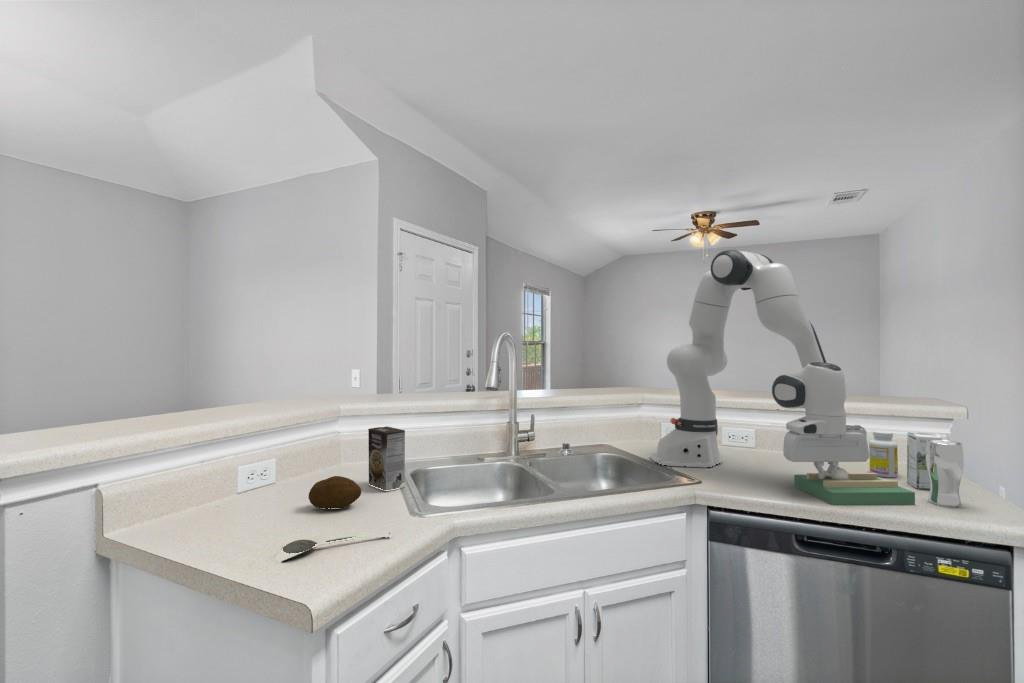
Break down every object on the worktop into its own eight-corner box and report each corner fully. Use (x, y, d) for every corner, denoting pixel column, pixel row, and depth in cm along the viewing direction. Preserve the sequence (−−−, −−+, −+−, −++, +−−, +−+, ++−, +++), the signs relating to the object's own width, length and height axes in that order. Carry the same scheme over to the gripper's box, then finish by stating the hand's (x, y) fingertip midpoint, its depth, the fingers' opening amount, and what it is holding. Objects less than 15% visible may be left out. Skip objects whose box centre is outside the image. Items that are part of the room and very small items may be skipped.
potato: (311, 504, 120) (311, 473, 121) (363, 500, 123) (363, 470, 123) (304, 515, 113) (304, 482, 113) (360, 511, 115) (360, 479, 115)
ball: (836, 485, 124) (836, 469, 124) (826, 480, 128) (826, 465, 128) (852, 485, 124) (852, 469, 124) (841, 480, 128) (841, 465, 128)
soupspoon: (273, 556, 94) (272, 573, 88) (272, 539, 93) (271, 555, 87) (388, 532, 103) (394, 546, 97) (388, 517, 103) (394, 529, 97)
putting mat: (832, 504, 118) (832, 486, 118) (794, 485, 134) (794, 469, 134) (915, 504, 118) (914, 486, 118) (867, 485, 134) (867, 468, 134)
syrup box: (931, 485, 133) (931, 432, 133) (943, 491, 128) (942, 436, 128) (906, 483, 135) (906, 431, 135) (916, 489, 130) (916, 435, 130)
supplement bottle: (888, 472, 146) (887, 430, 147) (903, 478, 140) (903, 434, 140) (864, 472, 147) (864, 429, 147) (878, 478, 141) (878, 433, 141)
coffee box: (367, 486, 135) (367, 428, 136) (387, 481, 140) (387, 425, 140) (385, 493, 129) (385, 432, 129) (405, 487, 134) (405, 429, 134)
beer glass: (967, 510, 114) (966, 446, 114) (928, 504, 117) (928, 443, 117) (959, 501, 120) (959, 441, 120) (923, 497, 123) (922, 438, 123)
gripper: (857, 423, 129) (858, 475, 129) (779, 423, 129) (780, 475, 129) (874, 427, 122) (875, 481, 122) (793, 427, 123) (793, 482, 123)
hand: (826, 478), depth 126 cm, fingers closed
